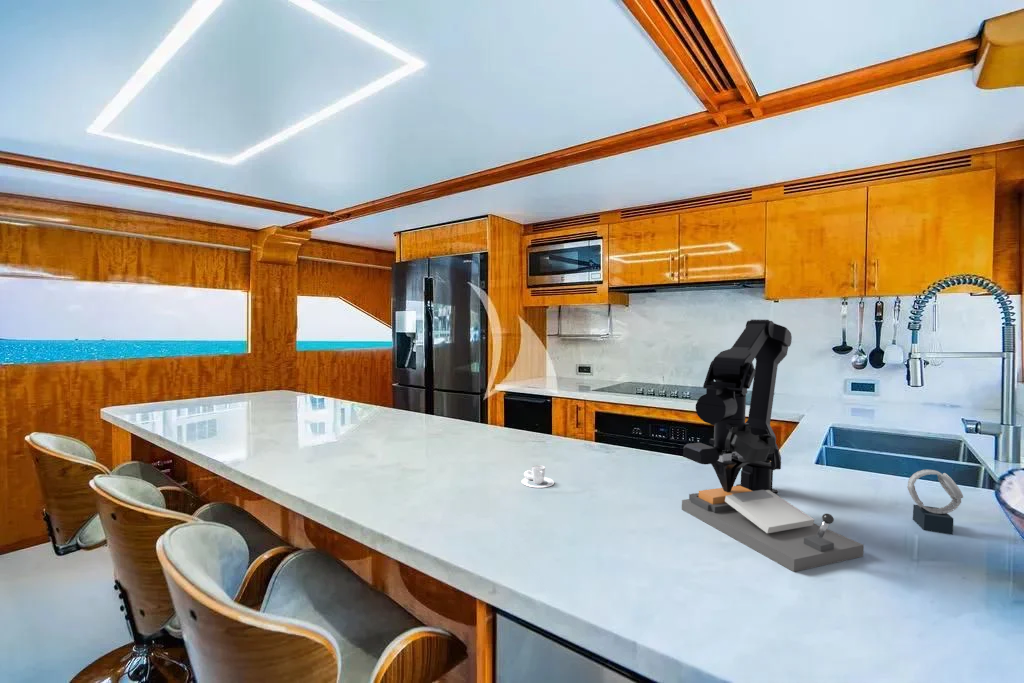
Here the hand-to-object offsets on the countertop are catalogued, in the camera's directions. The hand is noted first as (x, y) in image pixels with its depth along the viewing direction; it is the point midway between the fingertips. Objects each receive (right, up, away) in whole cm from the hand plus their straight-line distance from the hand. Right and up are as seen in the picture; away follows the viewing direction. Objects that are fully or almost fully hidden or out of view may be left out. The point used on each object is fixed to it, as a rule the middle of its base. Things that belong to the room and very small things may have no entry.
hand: (727, 491), depth 97 cm
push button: (0, -2, 0) cm, 2 cm away
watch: (+38, -6, -5) cm, 39 cm away
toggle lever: (+7, -2, -19) cm, 20 cm away
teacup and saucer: (-37, -4, +19) cm, 41 cm away
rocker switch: (+3, -1, -9) cm, 10 cm away
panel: (+3, -5, -8) cm, 10 cm away
